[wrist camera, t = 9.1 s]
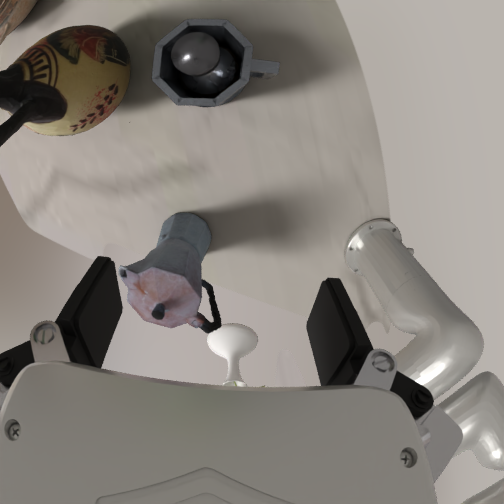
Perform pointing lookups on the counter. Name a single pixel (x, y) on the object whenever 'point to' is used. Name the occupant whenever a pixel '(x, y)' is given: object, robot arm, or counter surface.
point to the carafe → (226, 38)
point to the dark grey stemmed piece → (203, 63)
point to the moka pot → (173, 276)
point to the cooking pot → (13, 15)
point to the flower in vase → (233, 348)
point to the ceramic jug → (65, 82)
